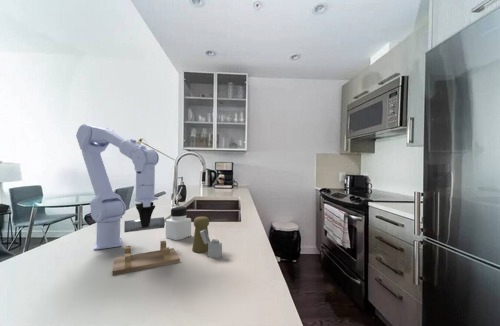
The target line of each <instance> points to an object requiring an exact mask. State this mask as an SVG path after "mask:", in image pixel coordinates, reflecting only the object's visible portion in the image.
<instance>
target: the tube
mask: <svg viewBox="0 0 500 326" xmlns="http://www.w3.org/2000/svg"><path fill="white" fill-rule="evenodd" d="M123 226H124V231H123V232H124V233H131V232H139V231H140V232H141V231H149V230H157V229H164V228H165V227H166V220H165V217H164V216H163V217H153V218H152V217H151V220H150V224H149V227H142V226H141V221H140V219H134V220H133V219H132V220H125V221H124V225H123Z"/></svg>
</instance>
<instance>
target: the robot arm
mask: <svg viewBox="0 0 500 326" xmlns="http://www.w3.org/2000/svg"><path fill="white" fill-rule="evenodd" d="M75 137H76V139H77V143H78V146H79V149H80V150H81V153H82V154H81V155H82V158H83V161H84V164H85V166H86V169H87V173H88V176H89V177H88V178H89V180H90V182H91V185H92V186H91V187H92V188H93V192H94V195H95V196H94V198H92V199H91V201H90V202H89V205H90V216H91V218H92V220H93V221H94V223H96V241H95V242H96V243H95V244H94V246H93V250H94V251H96V250H103V249H104V250H105V249H111V248H116V247H121V246H122V242H123V241H122V240H123V239H122V237H121V219H123V216H124V215H125V213H126V211H127V205H126V203H125V202H124V201H123V199H122V196H121V195H120V194H118V193H116V192H114V190H113V188H112V186H111V182H110V179H109V176H108V173H107V170H106V167H105V164H104V161H103V159H102V155H101V153H103V152H105V151H106V150H107V148H108V146H109V145H110V144H111V145H113V146H115V147H117V148H118V149H119V152H120V153H121V154H122V155H123V156H125V157H127V158H128V159H130V160H131V161H132V163H133V165H134V170H135V176H136V177H135V198H134V201H135V202H137V203H135V209H136V210H137V212H138V216H139V220H140V221H141V226H142V227H149V224H150V220H151V218H152V216H153V215H152V214H153V212H154V210H155V207H156V205H154V202H153V201H157V200H159V197H158V196H155V189H156V188H155V185H156V183H155V181H156V180H155V177H156V176H155V173H156V171H155V170H156V169H155V167H156V165H157V164H158V163H159V160H160V159H159V158H160V156H159V154H158V152H157V151H156V150H155V149H147V147H146V145H142V144H140V143H138V142H137V140H136V139H134V138H130V139H125V138H123V137H122V136H121V135H119V134H117V133H115V132H114V130H112V129H111V128H109V127H108V128H107V127H100V126H95V125H89V124H87V123H83V124H81V125H80V126H79V127H78V129H77V131H76V135H75Z"/></svg>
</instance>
